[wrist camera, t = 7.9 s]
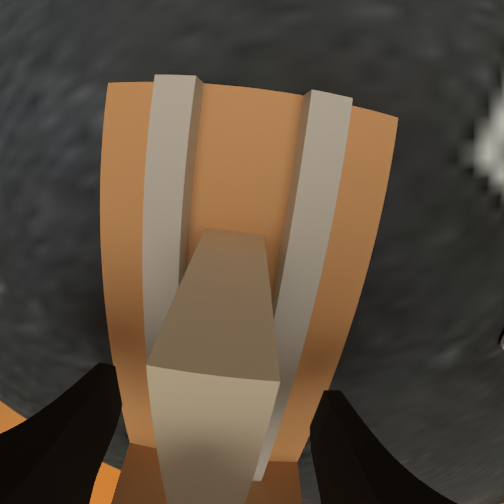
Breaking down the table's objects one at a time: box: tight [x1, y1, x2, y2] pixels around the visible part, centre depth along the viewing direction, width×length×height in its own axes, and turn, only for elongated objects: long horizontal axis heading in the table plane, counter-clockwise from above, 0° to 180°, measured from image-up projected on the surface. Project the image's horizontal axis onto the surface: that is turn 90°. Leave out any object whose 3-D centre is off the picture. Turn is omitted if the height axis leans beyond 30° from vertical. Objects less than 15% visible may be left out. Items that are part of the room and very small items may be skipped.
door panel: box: [146, 228, 280, 504], centre depth 9 cm, size 2×10×7 cm, turn 173°
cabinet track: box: [100, 75, 398, 504], centre depth 10 cm, size 10×20×7 cm, turn 173°
